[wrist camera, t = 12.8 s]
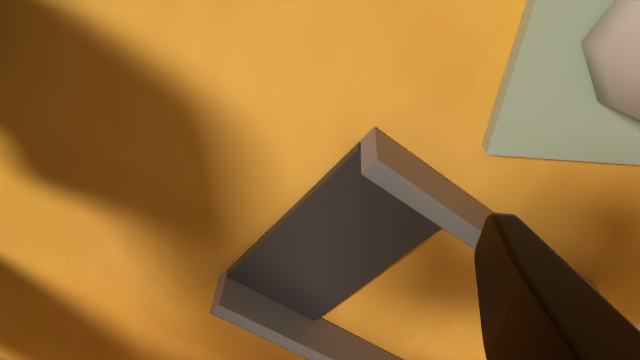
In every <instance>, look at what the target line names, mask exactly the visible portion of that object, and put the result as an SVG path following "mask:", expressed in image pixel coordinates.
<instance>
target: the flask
mask: <svg viewBox="0 0 640 360" xmlns="http://www.w3.org/2000/svg"><path fill="white" fill-rule="evenodd" d="M581 44H582V47H583V51H584V55H585V58H586V62H587V65H588V69H589V73H590V76H591V80H592V83H593V87H594V91H595V94H596V98H597V101H598V102H600V103H602V104H605V105H607V106H609V107H611V108H614V109H616V110H618V111H620V112H623V113H625V114H627V115H629V116H631V117H634V118H636V119H638V120H640V0H614V1H613V3H612V4H611V5H610V6H609V8H608V9H607V10H606V11H605V13H604V14H603V15H602V16H601V18H600V19H599V20H598V21H597V23H596V24H595V25H594V26H593V28H592V29H591V30H590V31H589V33H588V34H587V35H586V36H585V37H584V39H583V40H582V41H581Z"/></svg>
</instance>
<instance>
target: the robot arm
mask: <svg viewBox="0 0 640 360" xmlns="http://www.w3.org/2000/svg"><path fill="white" fill-rule="evenodd" d="M475 269H476V279H477V289H478V299H479V308H480V318H481V328H482V336H483V344H484V349H485V354H486V359H487V360H640V331H639V330H638V329H637V328H636V327H635V326H634V325H633V324H632V323H630V322H629V321H628V320H627V319H626V318H625V317H624V316H623V315H622V314H621V313H620V312H619V311H618V310H617V309H616V308H614V307H613V306H612V305H611V304H610V303H609V302H608V301H607V300H606V299H605V298H604V297H603V296H602V295H601V294H599V293H598V292H597V291H596V290H595V289H594V288H593V287H592V286H591V285H590V284H589V283H588V282H587V281H586V280H585V279H583V278H582V277H581V276H580V275H579V274H578V273H577V272H576V271H575V270H574V269H573V268H572V267H571V266H570V265H569V264H567V263H566V262H565V261H564V260H563V259H562V258H561V257H560V256H559V255H558V254H557V253H556V252H555V251H554V250H552V249H551V248H550V247H549V246H548V245H547V244H546V243H545V242H544V241H543V240H542V239H541V238H540V237H539V236H538V235H536V234H535V233H534V232H533V231H532V230H531V229H530V228H529V227H528V226H527V225H526V224H525V223H524V222H523V221H522V220H520V219H519V218H518V217H517V216H515V215H513V214H503V213H491V214H489V215H488V216H487V218H486V220H485V223H484V226H483V228H482V231H481V234H480V237H479V239H478V242H477V245H476V248H475Z"/></svg>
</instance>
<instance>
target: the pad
mask: <svg viewBox="0 0 640 360" xmlns="http://www.w3.org/2000/svg"><path fill="white" fill-rule="evenodd" d="M613 1H614V0H527V4H526V7H525V10H524V13H523V16H522V20H521V23H520V26H519V29H518V32H517V36H516V39H515V42H514V45H513V48H512V52H511V55H510V58H509V61H508V64H507V68H506V71H505V74H504V77H503V80H502V84H501V87H500V90H499V93H498V96H497V100H496V103H495V106H494V109H493V113H492V116H491V119H490V122H489V125H488V129H487V132H486V135H485V138H484V141H483V147H484V150H485V153H486V155H499V156H513V157H527V158H541V159H556V160H570V161H584V162H598V163H613V164H627V165H640V120H638V119H636V118H634V117H631V116H629V115H627V114H625V113H623V112H620V111H618V110H616V109H614V108H611V107H609V106H607V105H605V104H602V103H600V102H598V101H597V98H596V94H595V91H594V87H593V83H592V80H591V76H590V73H589V69H588V65H587V62H586V58H585V55H584V51H583V47H582V44H581V41H582V40H583V39H584V37H585V36H586V35H587V34H588V33H589V31H590V30H591V29H592V28H593V26H594V25H595V24H596V23H597V21H598V20H599V19H600V18H601V16H602V15H603V14H604V13H605V11H606V10H607V9H608V8H609V6H610V5H611V4H612V3H613Z"/></svg>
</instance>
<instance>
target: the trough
mask: <svg viewBox="0 0 640 360" xmlns="http://www.w3.org/2000/svg"><path fill="white" fill-rule="evenodd" d="M491 213H494V212H492V211H491V210H490V209H488V208H487V207H486V206H484V205H483V204H481V203H480V202H479V201H477V200H476V199H474V198H473V197H472V196H470V195H469V194H467V193H466V192H465V191H463V190H462V189H461V188H459V187H458V186H456V185H455V184H454V183H452V182H451V181H449V180H448V179H447V178H445V177H444V176H443V175H441V174H440V173H438V172H437V171H436V170H434V169H433V168H431V167H430V166H429V165H427V164H426V163H425V162H423V161H422V160H420V159H419V158H418V157H416V156H415V155H413V154H412V153H411V152H409V151H408V150H407V149H405V148H404V147H402V146H401V145H400V144H398V143H397V142H395V141H394V140H393V139H391V138H390V137H389V136H387V135H386V134H384V133H383V132H382V131H380V130H379V129H377V128H376V127H374V128H373V129H372V130H371V131H370V132H369V133H368V134H367V135H366V136H365V137H364V138H363V139H362V140H361V143H360V142H359V143H358V144H357V145H356V146H355V147H354V148H353V149H352V150H351V151H350V152H349V153H348V154H347V155H345V156H344V157H343V158H342V159H341V160H340V161H339V162H338V163H337V164H336V165H335V166H334V167H333V168H332V169H331V170H330V171H329V172H328V173H327V174H326V175H325V176H324V177H323V178H322V179H321V180H320V181H319V182H318V183H317V184H316V185H315V186H314V187H313V188H311V189H310V190H309V191H308V192H307V193H306V194H305V195H304V196H303V197H302V198H301V199H300V200H299V201H298V202H297V203H296V204H295V205H294V206H293V207H292V208H291V209H290V210H289V211H288V212H287V213H286V214H285V215H284V216H283V217H282V218H281V219H280V220H279V221H278V222H276V223H275V224H274V225H273V226H272V227H271V228H270V229H269V230H268V231H267V232H266V233H265V234H264V235H263V236H262V237H261V238H260V239H259V240H258V241H257V242H256V243H255V244H254V245H253V246H252V247H251V248H250V249H249V250H248V251H247V252H246V253H245V254H244V255H243V256H241V257H240V258H239V259H238V260H237V261H236V262H235V263H234V264H233V265H232V266H231V267H230V268H229V269H228V270H227V271H226V272H225V273H224V274H223V275H222V276H221V277H220V278H219V280H218V284H217V288H216V291H215V295H214V299H213V303H212V306H211V310H210V313H211V314H213V315H215V316H217V317H219V318H221V319H223V320H226V321H228V322H230V323H232V324H234V325H236V326H238V327H240V328H243V329H245V330H247V331H249V332H251V333H253V334H255V335H257V336H260V337H262V338H264V339H266V340H268V341H270V342H272V343H274V344H277V345H279V346H281V347H283V348H285V349H287V350H289V351H291V352H294V353H296V354H298V355H300V356H302V357H304V358H306V359H309V360H402V359H400V358H398V357H396V356H394V355H392V354H390V353H388V352H387V351H385V350H383V349H381V348H379V347H377V346H375V345H373V344H371V343H369V342H367V341H365V340H363V339H361V338H359V337H357V336H355V335H353V334H351V333H349V332H348V331H346V330H344V329H342V328H340V327H338V326H336V325H334V324H332V323H330V322H328V321H326V320H324V319H322V318H320V317H321V316H322V315H324V314H325V313H326V312H328V311H329V310H330V309H332V308H333V307H335V306H336V305H337V304H339V303H340V302H341V301H343V300H344V299H345V298H347V297H348V296H350V295H351V294H352V293H354V292H355V291H356V290H358V289H359V288H360V287H362V286H363V285H364V284H366V283H367V282H369V281H370V280H371V279H373V278H374V277H375V276H377V275H378V274H379V273H381V272H382V271H384V270H385V269H386V268H388V267H389V266H390V265H392V264H393V263H394V262H396V261H397V260H398V259H400V258H401V257H403V256H404V255H405V254H407V253H408V252H409V251H411V250H412V249H413V248H415V247H416V246H418V245H419V244H420V243H422V242H423V241H424V240H426V239H427V238H428V237H430V236H431V235H433V234H434V233H435V232H437V231H438V230H439V229H441V228H443V229H444V230H446V231H447V232H449V233H450V234H452V235H453V236H455V237H456V238H458V239H459V240H461V241H462V242H464V243H465V244H467V245H468V246H470V247H471V248H473V249H474V250H475V248H476V245H477V242H478V239H479V237H480V234H481V231H482V228H483V226H484V223H485V220H486V218H487V216H488V215H489V214H491ZM579 275H580V274H579ZM580 276H581V275H580ZM581 277H582V276H581ZM582 278H583V279H585V278H584V277H582ZM585 280H586V281H587V282H588V283H589V284H590V285H591V286H592V287H593V288H594V289H595V290H596V291H597V292H598V293H599V291H598V289H597V287H596V286H595V285H594V284H592V283H591V282H589V281H588V280H587V279H585ZM599 294H600V293H599Z"/></svg>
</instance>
